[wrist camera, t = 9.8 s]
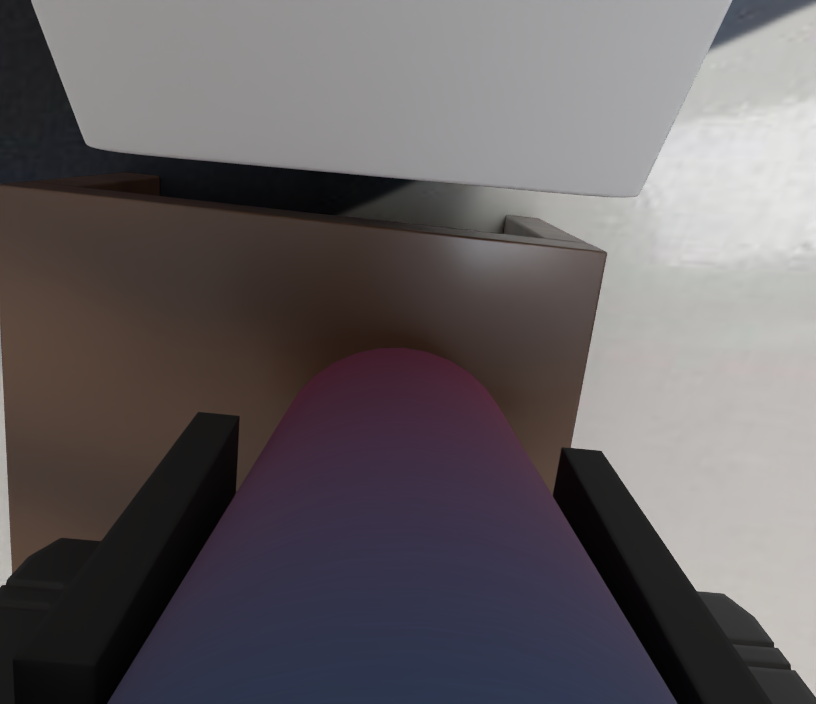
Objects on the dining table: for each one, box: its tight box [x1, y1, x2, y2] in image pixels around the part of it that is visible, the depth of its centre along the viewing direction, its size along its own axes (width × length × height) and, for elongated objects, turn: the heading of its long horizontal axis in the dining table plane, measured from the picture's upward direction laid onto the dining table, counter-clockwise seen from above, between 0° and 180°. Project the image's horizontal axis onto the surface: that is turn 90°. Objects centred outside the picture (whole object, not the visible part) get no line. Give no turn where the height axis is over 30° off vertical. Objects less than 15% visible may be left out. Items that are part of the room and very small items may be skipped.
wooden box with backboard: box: [0, 172, 607, 574], centre depth 17 cm, size 16×14×18 cm
